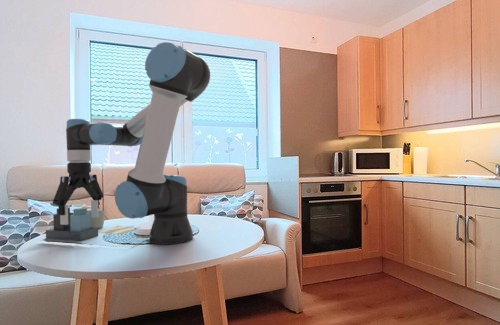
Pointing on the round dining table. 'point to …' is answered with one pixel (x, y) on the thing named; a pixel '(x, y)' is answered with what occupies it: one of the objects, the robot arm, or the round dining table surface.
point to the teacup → (97, 219)
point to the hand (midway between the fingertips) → (80, 220)
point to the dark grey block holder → (68, 231)
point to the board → (117, 230)
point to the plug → (80, 220)
